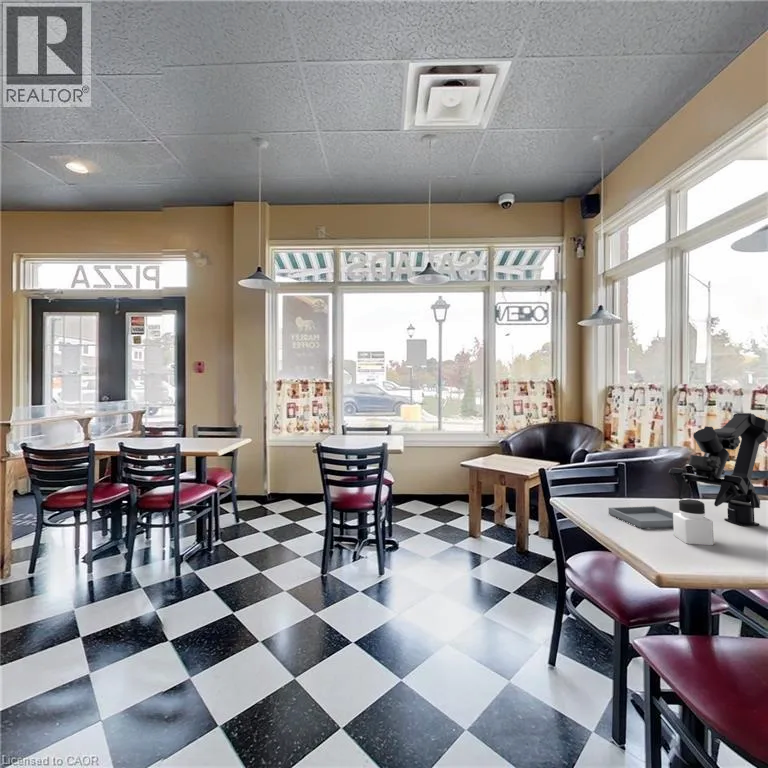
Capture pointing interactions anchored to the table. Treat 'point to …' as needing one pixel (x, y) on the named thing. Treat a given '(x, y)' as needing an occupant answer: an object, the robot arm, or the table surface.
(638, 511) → the tray
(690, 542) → the medicine bottle
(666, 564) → the table surface
